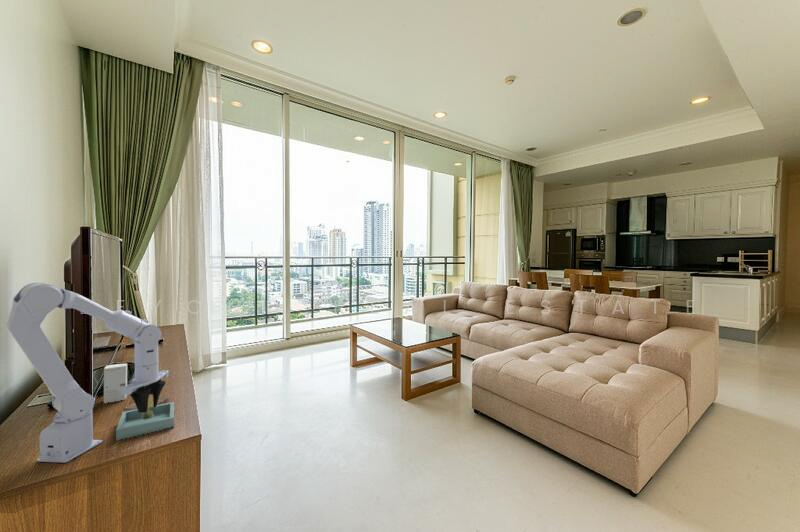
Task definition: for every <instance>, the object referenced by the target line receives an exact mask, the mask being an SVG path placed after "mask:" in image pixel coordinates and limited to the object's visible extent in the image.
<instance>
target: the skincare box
mask: <svg viewBox="0 0 800 532" xmlns="http://www.w3.org/2000/svg"><path fill="white" fill-rule="evenodd" d="M127 385H128V363H127V362H125V363H116V364H110V365H109V364H108V365H105V366H104V369H103V404H108V402H109V403H115V401H116V402H121V400H122V401H125V400H126V399H127V397H128V395H122V388H123V387H125V386H127Z"/></svg>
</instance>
